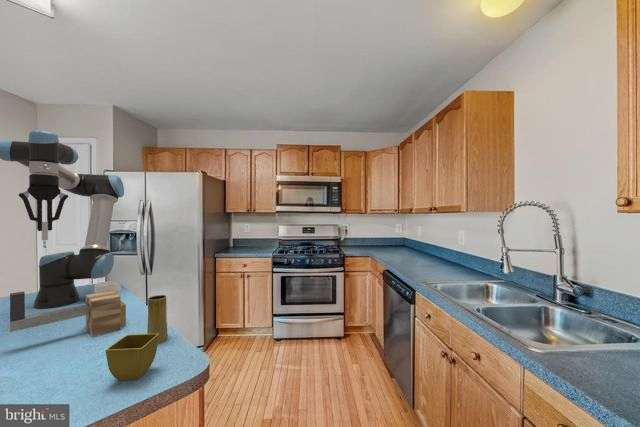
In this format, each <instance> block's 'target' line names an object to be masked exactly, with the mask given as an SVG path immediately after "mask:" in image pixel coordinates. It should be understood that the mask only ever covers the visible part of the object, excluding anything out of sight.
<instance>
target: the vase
mask: <svg viewBox="0 0 640 427" xmlns="http://www.w3.org/2000/svg"><path fill="white" fill-rule="evenodd" d="M147 301H148V302H147V328H146V329H147V331H146V334H159V337H158V344H160V343H163V342H165V341H167V340H168V339H169V335H168V320H167V313H168V312H167V307H168V306H167V294H166V295H165V294H157V295H153V296H149V297H148V298H147Z"/></svg>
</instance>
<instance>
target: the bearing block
mask: <svg viewBox="0 0 640 427" xmlns="http://www.w3.org/2000/svg"><path fill="white" fill-rule="evenodd" d="M120 301H121V295H120V296H119V295H118V294H117V293H116V292H114V291H113V290H109V291H103V292H98V293H94V292H92V293H87V294H85V305H86V304H89V305H90V315H85V328H86V329H87V331H88V332H89V334H90V335H91V337H92V338H93V337H97V336H102V335H105V334H107V333H111V332H115V331H119V330H121V328H122V327H121V316H120Z"/></svg>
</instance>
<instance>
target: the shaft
mask: <svg viewBox="0 0 640 427" xmlns="http://www.w3.org/2000/svg"><path fill="white" fill-rule="evenodd" d="M25 295H26V294H25V290H24V291H18V292H12V293H9V321H10V322H9V327H10V328H9V330H10V331H9V332H16V331H17V332H18V331H21V330H26V329H29V328H33V327H38V326H43V325H48V324H51V323H52V324H53V323H58V322H62V321H66V320H70V319H71V320H72V319H76V318H80V317H84V316H85V317H86V315H90V305H89V304H86V303H85V304H82V305H77V306H71V307H67V308H61V309H55V310H51V311H46V312H41V313H40V312H39V313H35V314H32V315H26V311H25V310H26V308H25V307H26V306H25V305H26V304H25V303H26V296H25ZM25 315H26V316H25Z"/></svg>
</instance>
